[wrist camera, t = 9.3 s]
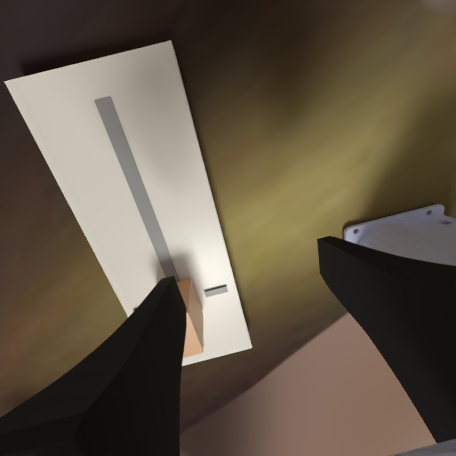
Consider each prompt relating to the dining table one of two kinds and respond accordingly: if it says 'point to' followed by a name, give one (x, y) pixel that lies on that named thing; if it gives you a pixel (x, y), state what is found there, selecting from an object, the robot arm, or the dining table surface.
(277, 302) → the dining table surface
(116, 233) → the panel
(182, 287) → the fader tab
